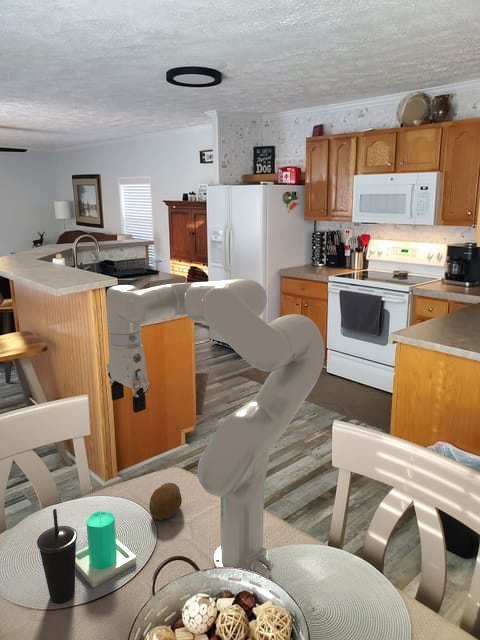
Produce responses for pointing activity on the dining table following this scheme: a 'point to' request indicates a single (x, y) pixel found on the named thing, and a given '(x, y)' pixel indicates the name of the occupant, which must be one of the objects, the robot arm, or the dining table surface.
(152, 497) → the potato
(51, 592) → the drinking cup
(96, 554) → the candle
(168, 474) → the dining table surface
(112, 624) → the dining table surface
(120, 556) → the tray
